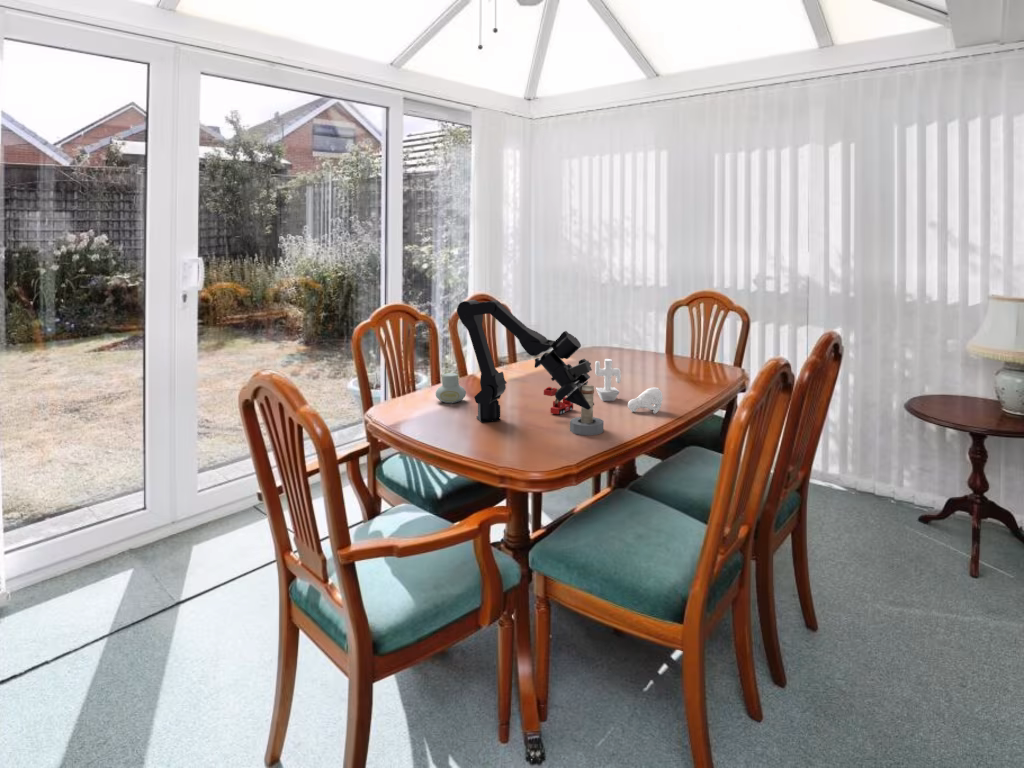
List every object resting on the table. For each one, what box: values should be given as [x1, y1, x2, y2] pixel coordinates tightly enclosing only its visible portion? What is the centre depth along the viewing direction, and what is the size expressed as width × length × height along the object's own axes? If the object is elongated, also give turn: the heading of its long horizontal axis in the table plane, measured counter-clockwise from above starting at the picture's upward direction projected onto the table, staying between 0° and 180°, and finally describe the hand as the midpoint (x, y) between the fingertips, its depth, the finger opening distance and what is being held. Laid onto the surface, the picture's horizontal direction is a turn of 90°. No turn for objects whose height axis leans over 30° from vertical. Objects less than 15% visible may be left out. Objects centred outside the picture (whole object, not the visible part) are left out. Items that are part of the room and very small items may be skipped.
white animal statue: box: [627, 386, 663, 414], centre depth 218 cm, size 6×8×12 cm
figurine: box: [594, 358, 622, 402], centre depth 235 cm, size 7×9×15 cm
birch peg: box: [580, 384, 595, 424], centre depth 196 cm, size 4×4×13 cm
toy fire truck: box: [543, 386, 574, 415], centre depth 217 cm, size 3×14×10 cm, turn 141°
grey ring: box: [569, 416, 604, 436], centre depth 197 cm, size 10×10×3 cm
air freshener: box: [435, 372, 467, 404], centre depth 233 cm, size 11×8×10 cm
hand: (591, 407), depth 195 cm, fingers closed on birch peg, 4 cm apart
